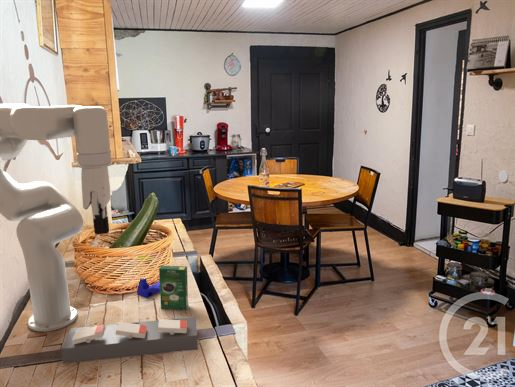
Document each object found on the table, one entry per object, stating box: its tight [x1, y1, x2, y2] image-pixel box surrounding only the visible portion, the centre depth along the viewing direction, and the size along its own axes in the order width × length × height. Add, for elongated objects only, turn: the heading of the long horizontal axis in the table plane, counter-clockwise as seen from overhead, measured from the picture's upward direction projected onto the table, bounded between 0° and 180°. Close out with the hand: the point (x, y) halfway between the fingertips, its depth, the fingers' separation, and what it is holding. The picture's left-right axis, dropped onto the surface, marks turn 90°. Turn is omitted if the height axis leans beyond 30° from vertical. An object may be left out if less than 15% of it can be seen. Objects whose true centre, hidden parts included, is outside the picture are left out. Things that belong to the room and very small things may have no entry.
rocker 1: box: [72, 323, 106, 344], centre depth 105 cm, size 4×7×2 cm, turn 99°
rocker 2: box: [115, 321, 147, 339], centre depth 107 cm, size 4×7×2 cm, turn 99°
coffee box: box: [158, 264, 189, 311], centre depth 127 cm, size 8×3×13 cm, turn 86°
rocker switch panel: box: [60, 316, 199, 364], centre depth 109 cm, size 9×32×4 cm, turn 99°
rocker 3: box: [158, 318, 187, 335], centre depth 108 cm, size 4×7×2 cm, turn 99°
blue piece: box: [136, 277, 160, 299], centre depth 140 cm, size 12×4×6 cm, turn 143°
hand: (102, 232), depth 107 cm, fingers closed
